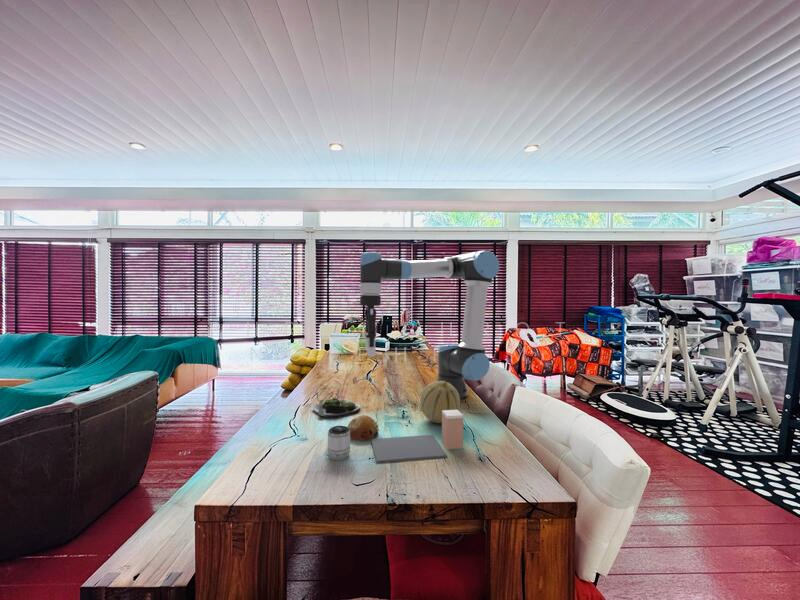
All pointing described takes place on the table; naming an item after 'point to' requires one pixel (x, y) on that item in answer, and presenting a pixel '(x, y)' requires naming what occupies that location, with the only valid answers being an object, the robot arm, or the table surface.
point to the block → (452, 429)
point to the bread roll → (363, 428)
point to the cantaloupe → (438, 400)
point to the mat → (406, 448)
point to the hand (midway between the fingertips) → (370, 352)
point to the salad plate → (336, 408)
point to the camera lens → (338, 442)
